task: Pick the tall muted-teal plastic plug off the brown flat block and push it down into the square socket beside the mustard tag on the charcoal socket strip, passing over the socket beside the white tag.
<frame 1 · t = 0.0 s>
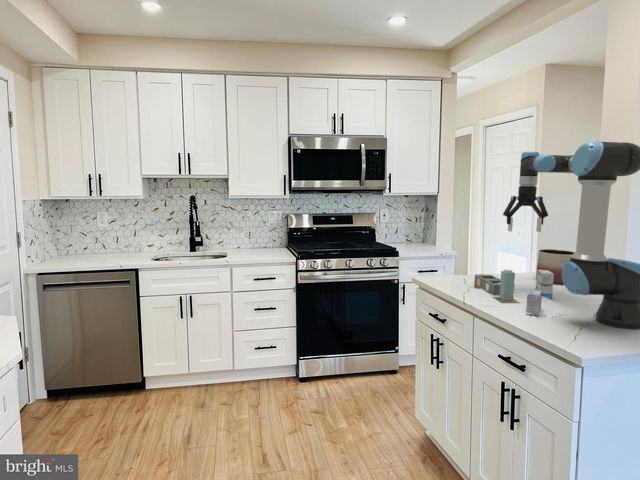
hand: (524, 231, 207), 28 cm above the countertop, fingers open, 13 cm apart
planter: (554, 281, 231), on the countertop
brown flat block: (505, 303, 186), on the countertop
ink box: (543, 297, 197), on the countertop
socket strip: (491, 292, 205), on the countertop
medicine box: (533, 314, 171), on the countertop
plug: (505, 299, 185), point 1 cm above the countertop, touching brown flat block
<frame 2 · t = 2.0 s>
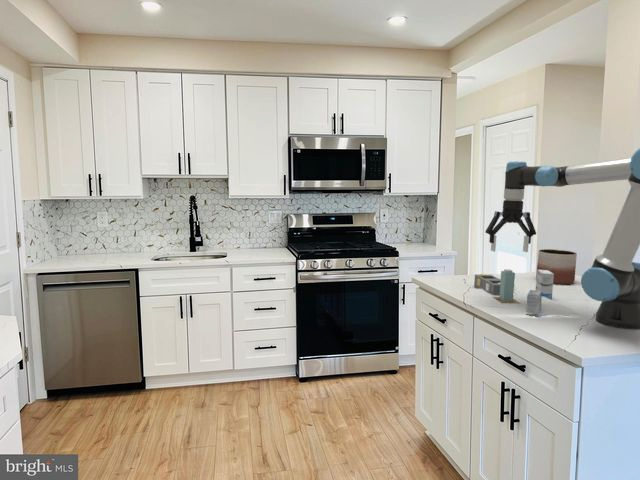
hand: (509, 251, 183), 22 cm above the countertop, fingers open, 13 cm apart
nothing on the countertop moved.
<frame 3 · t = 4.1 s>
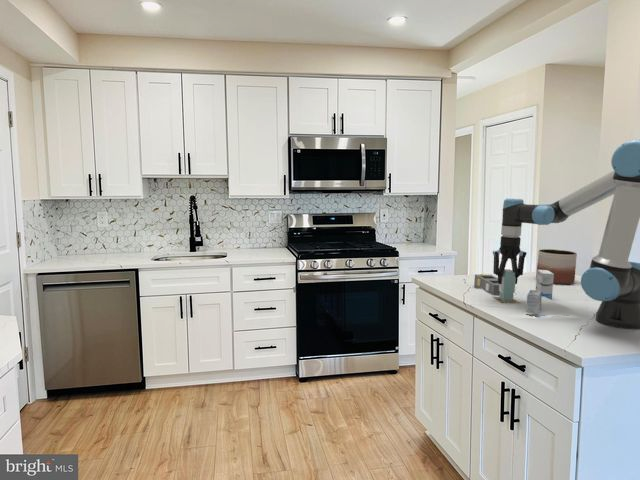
hand: (506, 291, 185), 5 cm above the countertop, fingers closed on plug, 4 cm apart
plug: (505, 299, 185), point 2 cm above the countertop, touching brown flat block, gripper
everything else where it was.
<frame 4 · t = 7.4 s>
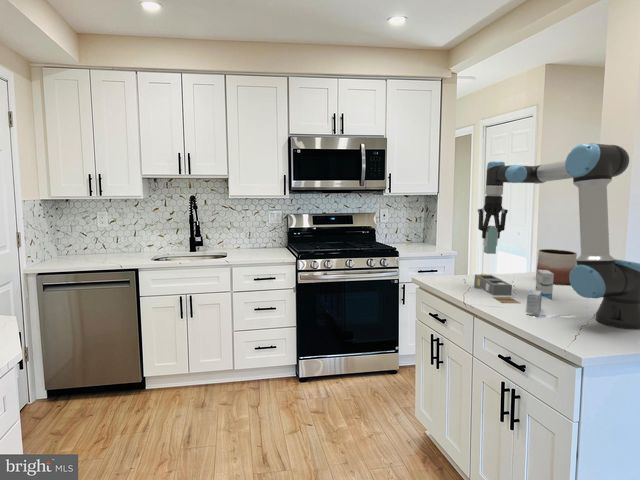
hand: (490, 245, 207), 21 cm above the countertop, fingers closed on plug, 4 cm apart
plug: (489, 253, 207), point 18 cm above the countertop, touching gripper
everything else where it was.
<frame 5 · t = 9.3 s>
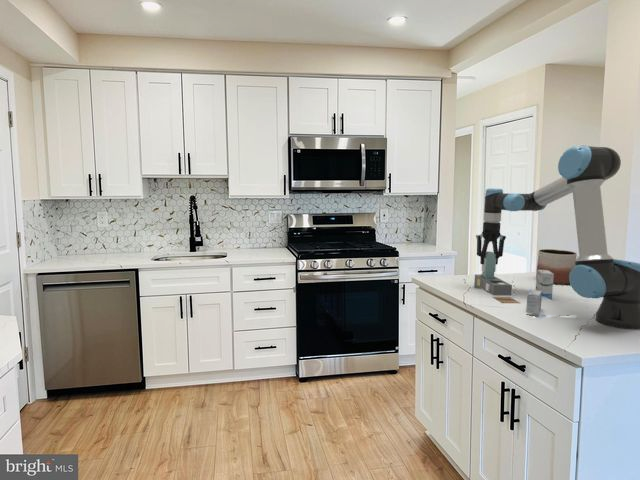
hand: (488, 271, 208), 9 cm above the countertop, fingers closed on plug, 4 cm apart
plug: (487, 278, 209), point 5 cm above the countertop, touching gripper
everything else where it was.
when the fingers open (8 cm above the countertop, at t = 10.6 s): plug drops 2 cm, resting on socket strip.
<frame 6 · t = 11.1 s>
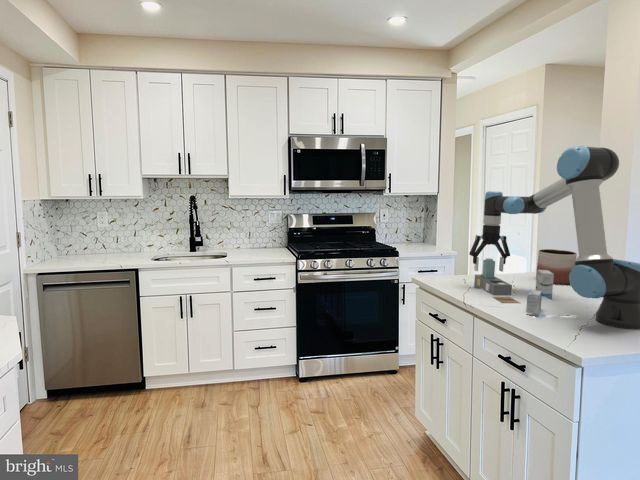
hand: (488, 270, 208), 9 cm above the countertop, fingers open, 11 cm apart
plug: (487, 285, 209), point 2 cm above the countertop, touching socket strip
everything else where it was.
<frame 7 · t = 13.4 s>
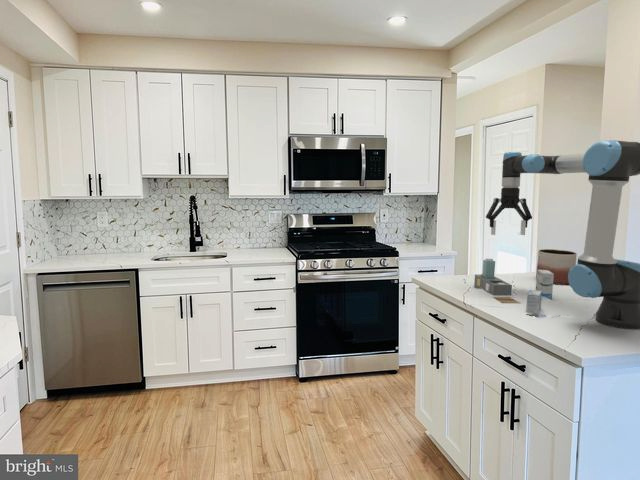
hand: (507, 234, 199), 27 cm above the countertop, fingers open, 13 cm apart
nothing on the countertop moved.
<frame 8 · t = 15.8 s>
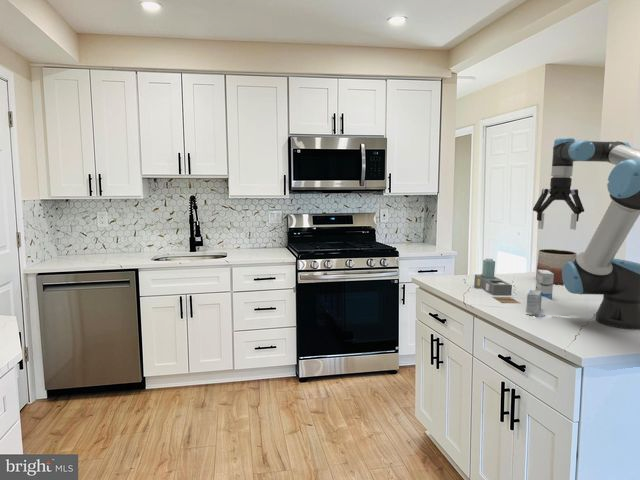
hand: (556, 229, 182), 32 cm above the countertop, fingers open, 13 cm apart
nothing on the countertop moved.
at the end: plug 0.0 cm from the target spot on the socket strip, point 2.0 cm above the socket strip's base; plug tilted 0°; the gripper is holding nothing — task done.
